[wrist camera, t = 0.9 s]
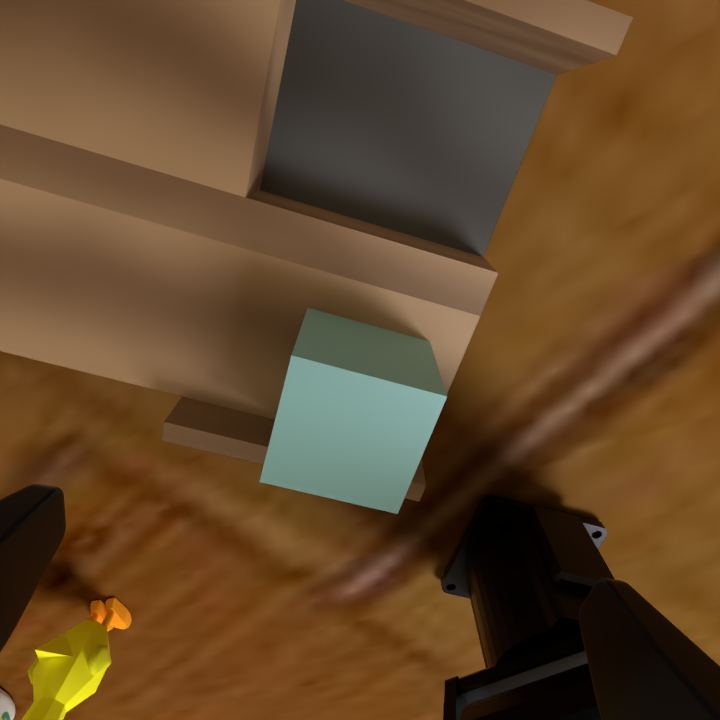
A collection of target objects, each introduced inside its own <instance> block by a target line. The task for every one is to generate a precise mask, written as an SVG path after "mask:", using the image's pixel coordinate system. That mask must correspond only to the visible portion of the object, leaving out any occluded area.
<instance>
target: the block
mask: <svg viewBox="0 0 720 720" xmlns="http://www.w3.org/2000/svg"><path fill="white" fill-rule="evenodd" d="M446 398H447V394H446V391H445V388H444V385H443V381H442V378H441V375H440V372H439V369H438V365H437V362H436V359H435V356H434V353H433V350H432V346H431V343H430V341H426V340H423V339H419V338H415V337H412V336H408V335H405V334H401V333H397V332H394V331H390V330H387V329H383V328H379V327H376V326H372V325H369V324H365V323H361V322H358V321H354V320H350V319H347V318H343V317H340V316H336V315H332V314H329V313H325V312H322V311H318V310H314V309H311V308H307V311H306V314H305V317H304V320H303V323H302V326H301V329H300V332H299V335H298V338H297V341H296V343H295V346H294V349H293V352H292V355H291V359H290V363H289V367H288V371H287V375H286V379H285V383H284V387H283V391H282V395H281V399H280V403H279V407H278V411H277V415H276V419H275V423H274V426H273V430H272V434H271V438H270V442H269V446H268V450H267V454H266V458H265V462H264V466H263V470H262V474H261V478H260V482H262V483H266V484H271V485H275V486H279V487H283V488H288V489H292V490H296V491H301V492H305V493H309V494H313V495H318V496H322V497H326V498H331V499H335V500H339V501H343V502H348V503H352V504H356V505H361V506H365V507H369V508H373V509H378V510H382V511H386V512H390V513H395V514H398V512H399V510H400V507H401V505H402V503H403V500H404V498H405V495H406V493H407V491H408V488H409V486H410V484H411V481H412V479H413V476H414V474H415V472H416V469H417V467H418V465H419V462H420V460H421V458H422V455H423V453H424V450H425V448H426V446H427V443H428V441H429V439H430V436H431V434H432V432H433V429H434V427H435V424H436V422H437V420H438V417H439V415H440V413H441V410H442V408H443V406H444V403H445V401H446Z"/></svg>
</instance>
